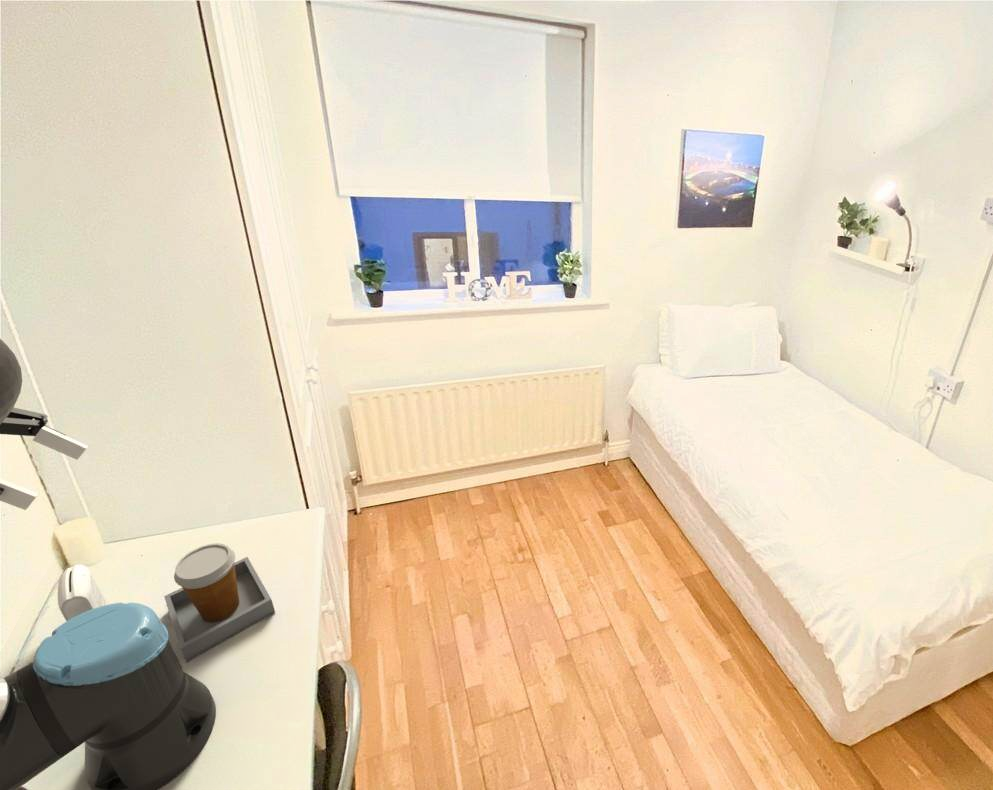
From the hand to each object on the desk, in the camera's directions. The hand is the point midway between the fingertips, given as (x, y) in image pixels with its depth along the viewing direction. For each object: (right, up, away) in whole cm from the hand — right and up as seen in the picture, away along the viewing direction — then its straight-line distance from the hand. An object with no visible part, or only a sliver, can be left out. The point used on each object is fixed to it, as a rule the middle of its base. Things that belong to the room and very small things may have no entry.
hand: (59, 475), depth 71 cm
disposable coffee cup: (+16, -28, +15) cm, 36 cm away
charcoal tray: (+16, -29, +16) cm, 36 cm away
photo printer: (-5, -30, +13) cm, 33 cm away
